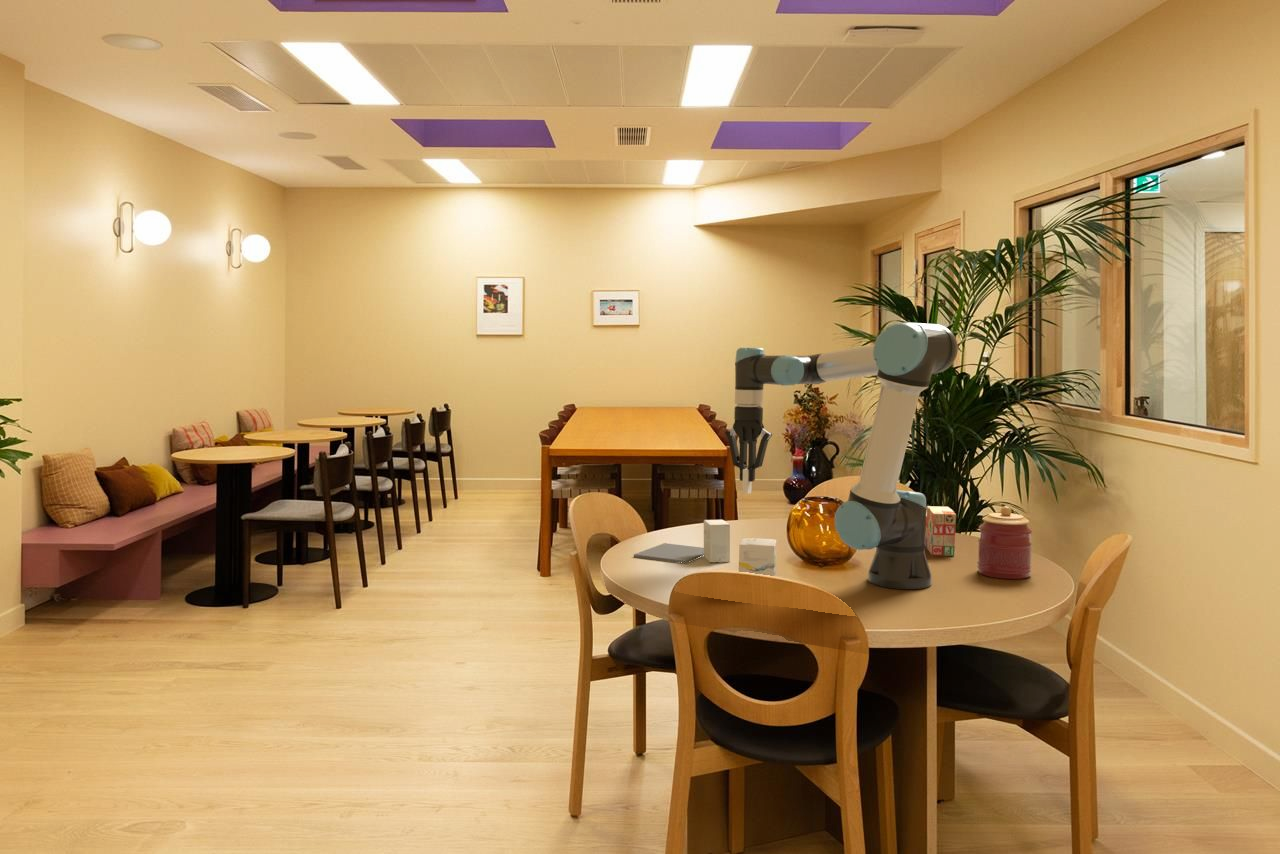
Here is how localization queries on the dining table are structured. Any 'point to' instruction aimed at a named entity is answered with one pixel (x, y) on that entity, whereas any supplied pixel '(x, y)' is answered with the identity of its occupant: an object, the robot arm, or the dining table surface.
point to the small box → (716, 541)
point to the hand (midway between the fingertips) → (746, 493)
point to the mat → (671, 553)
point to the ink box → (758, 556)
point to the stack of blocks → (940, 530)
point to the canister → (1005, 545)
